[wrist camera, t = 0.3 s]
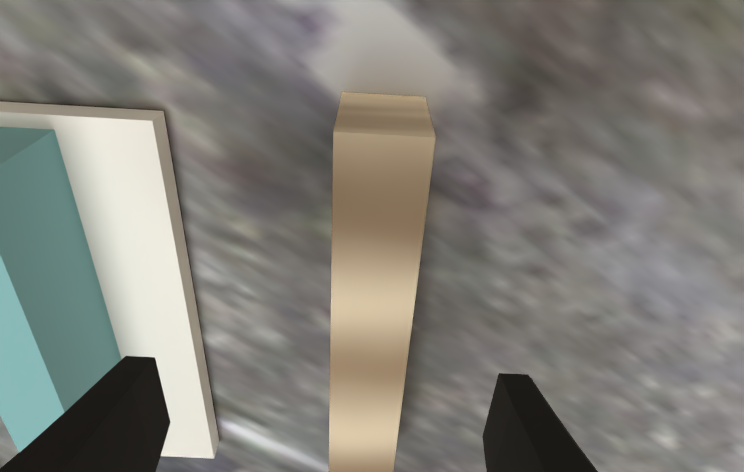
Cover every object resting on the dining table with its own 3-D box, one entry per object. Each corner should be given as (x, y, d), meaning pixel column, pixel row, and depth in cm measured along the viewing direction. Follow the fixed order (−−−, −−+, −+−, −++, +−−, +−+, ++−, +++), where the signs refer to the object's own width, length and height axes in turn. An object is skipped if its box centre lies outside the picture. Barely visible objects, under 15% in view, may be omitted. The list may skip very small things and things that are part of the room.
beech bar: (387, 432, 27) (388, 506, 23) (334, 429, 27) (328, 503, 23) (424, 94, 17) (435, 137, 14) (342, 89, 17) (333, 131, 14)
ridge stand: (219, 441, 27) (189, 539, 23) (48, 433, 27) (-14, 530, 22) (163, 110, 17) (92, 173, 13) (-104, 95, 17) (-262, 153, 13)
